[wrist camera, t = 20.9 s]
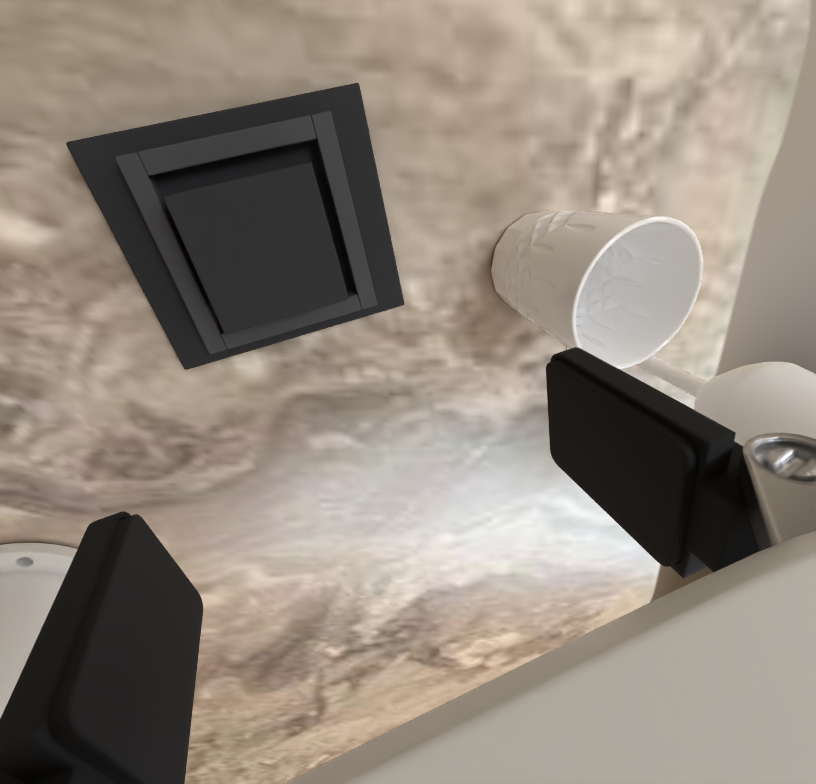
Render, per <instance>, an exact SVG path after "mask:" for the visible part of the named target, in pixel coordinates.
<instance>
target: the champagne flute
mask: <svg viewBox="0 0 816 784" xmlns="http://www.w3.org/2000/svg"><path fill="white" fill-rule="evenodd" d="M568 349H569V348H568V347H567V350H568ZM636 366H638V367H640V368H642V369H644V370H646V371H648V372H650V373H652V374H653V375H655V376H657V377H659V378H661V379H663V380H665V381H667V382H669V383H670V384H672V385H674V386H676V387H678V388H680V389H682V390H684V391H686V392H687V393H689V394H691V395H693V396H695V397H696V399H695V411H697V412H699V413H701V414H702V415H704V416H706V417H708V418H710V419H712V420H713V421H715V422H717V423H719V424H721V425H723V426H725V427H726V428H728V429H730V430H732V431H734V432H736V435H735V439H734V441H735V442H737V443H738V444H740V445H742V446H744V445H745V444H746V442H747V441H748V440H749V439H751V438H753V437H755V436H757V435H761V434H766V433H791V434H799V435H803V436H807V437H810V438H814V439H816V374H814V373H812V372H810V371H808V370H806V369H803V368H802V367H800V366H797V365H795V364H792V363H787V362H763V363H757V364H752V365H747V366H742V367H739V368H737V369H734V370H731V371H729V372H726V373H724V374H721V375H719V376H716V377H714V378H712V379H710V380H709V381H706V380H703V379H701V378H699V377H697V376H695V375H693V374H691V373H689V372H687V371H685V370H683V369H681V368H679V367H676V366H674V365H672V364H670V363H668V362H666V361H664V360H662V359H660V358H658V357H656V356H654V355H653V356H651V357H650V358H648V359H646V360H645V361H643V362H641V363H639V364H636Z"/></svg>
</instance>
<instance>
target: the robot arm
mask: <svg viewBox="0 0 816 784" xmlns="http://www.w3.org/2000/svg"><path fill="white" fill-rule="evenodd" d="M546 378H547V397H548V417H549V436H550V452H551V455H552V458H553V460H554V461H555V463H556V464H557V465H558V466H559V467H560V468H561V469H562V470H563V471H564V472H565V473H566V474H567V475H568V476H569V477H570V478H571V479H572V480H573V481H574V482H575V483H577V484H578V485H579V486H580V487H581V488H582V489H583V490H584V491H585V492H586V493H587V494H588V495H589V496H590V497H591V498H592V499H593V500H594V501H595V502H596V503H597V504H598V505H599V506H600V507H601V508H602V509H603V510H604V511H606V512H607V513H608V514H609V515H610V516H611V517H612V518H613V519H614V520H615V521H616V522H617V523H618V524H619V525H620V526H621V527H622V528H623V529H624V530H625V531H626V532H627V533H628V534H629V535H630V536H631V537H632V538H634V539H635V540H636V541H637V542H638V543H639V544H640V545H641V546H642V547H643V548H644V549H645V550H646V551H647V552H648V553H649V554H650V555H651V556H652V557H653V558H654V559H655V560H656V561H657V562H659V563H660V564H661V565H663V566H667V567H668V566H671V567H672V568H673V569H674V570H675V571H676V572H677V573H678V574H679V575H680V576H681V577H682V578H685V577H688V576H690V575H692V574H694V573H696V572H698V571H700V570H702V569H704V568H705V567H706V566H707V567H708V568H710V569H711V570H712V571H713V572H714V573H712V574H710V575H708V576H705V577H703V578H701V579H699V580H697V581H694V582H692V583H690V584H688V585H686V586H684V587H682V588H679V589H677V590H675V591H673V592H671V593H669V594H667V595H665V596H663V597H661V598H659V599H657V600H655V601H653V602H651V603H649V604H647V605H645V606H643V607H640V608H638V609H636V610H634V611H632V612H630V613H628V614H626V615H624V616H622V617H620V618H618V619H616V620H614V621H612V622H610V623H608V624H606V625H604V626H602V627H599V628H597V629H595V630H593V631H591V632H589V633H587V634H585V635H583V636H581V637H579V638H577V639H575V640H573V641H571V642H569V643H567V644H565V645H563V646H560V647H558V648H556V649H554V650H552V651H550V652H548V653H546V654H544V655H542V656H540V657H538V658H536V659H534V660H532V661H530V662H528V663H526V664H524V665H522V666H520V667H518V668H516V669H514V670H512V671H510V672H508V673H506V674H504V675H502V676H500V677H498V678H496V679H494V680H492V681H489V682H487V683H485V684H483V685H481V686H479V687H477V688H475V689H473V690H471V691H469V692H467V693H465V694H463V695H461V696H459V697H457V698H455V699H453V700H451V701H449V702H447V703H445V704H443V705H441V706H439V707H437V708H435V709H433V710H431V711H429V712H427V713H425V714H423V715H421V716H419V717H417V718H415V719H413V720H411V721H409V722H407V723H405V724H403V725H401V726H399V727H397V728H395V729H392V730H390V731H388V732H386V733H384V734H382V735H380V736H378V737H376V738H374V739H372V740H370V741H368V742H366V743H364V744H362V745H360V746H358V747H356V748H354V749H352V750H350V751H348V752H346V753H344V754H342V755H340V756H338V757H336V758H334V759H332V760H330V761H328V762H326V763H324V764H322V765H320V766H318V767H316V768H314V769H312V770H310V771H308V772H306V773H304V774H302V775H300V776H298V777H296V778H294V779H293V780H291V781H289V782H287V783H285V784H816V439H814V438H810V437H807V436H803V435H799V434H791V433H766V434H761V435H757V436H755V437H753V438H751V439H749V440H748V441H747V442H746V444H745V445H744V446H742V445H740V444H738V443H737V442H735V441H734V439H735V435H736V432H734V431H732V430H730V429H728V428H726V427H725V426H723V425H721V424H719V423H717V422H715V421H713V420H712V419H710V418H708V417H706V416H704V415H702V414H701V413H699V412H697V411H695V410H693V409H691V408H690V407H688V406H686V405H684V404H682V403H680V402H679V401H677V400H675V399H673V398H671V397H669V396H667V395H666V394H664V393H662V392H660V391H658V390H656V389H655V388H653V387H651V386H649V385H647V384H645V383H644V382H642V381H640V380H638V379H636V378H634V377H632V376H631V375H629V374H627V373H625V372H623V371H621V370H620V369H618V368H616V367H614V366H612V365H610V364H609V363H607V362H605V361H603V360H601V359H599V358H597V357H596V356H594V355H592V354H590V353H588V352H586V351H585V350H583V349H581V348H578V347H574V348H571V349H568V350H565V351H563V352H560V353H557V354H554V355H553V356H552V358H551V362H550V363H548V364H547V366H546ZM202 616H203V603H202V599H201V597H200V594H199V593H198V591H197V590H196V589H195V587H194V586H193V585H192V583H191V582H190V581H189V579H188V578H187V577H186V575H185V574H184V573H183V571H182V570H181V569H180V567H179V566H178V565H177V563H176V562H175V561H174V559H173V558H172V557H171V555H170V554H169V553H168V551H167V550H166V549H165V547H164V546H163V545H162V544H161V542H160V541H159V540H158V538H157V537H156V536H155V534H154V533H153V532H152V530H151V529H150V528H149V526H148V525H147V524H146V522H145V521H144V520H143V518H142V517H141V516H139V515H137V514H135V515H132V516H131V515H130V514H129V513H127V512H119V513H116V514H114V515H111V516H108V517H105V518H103V519H100V520H97V521H94V522H92V523H91V524H90V525H89V526H88V528H87V530H86V532H85V534H84V536H83V538H82V541H81V543H80V545H79V547H78V549H75V548H71V547H66V546H62V545H56V544H45V543H11V544H4V545H0V784H184V782H185V773H186V764H187V755H188V745H189V736H190V727H191V717H192V708H193V699H194V690H195V680H196V671H197V662H198V653H199V643H200V634H201V625H202Z"/></svg>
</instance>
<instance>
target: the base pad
mask: <svg viewBox="0 0 816 784" xmlns="http://www.w3.org/2000/svg"><path fill="white" fill-rule="evenodd" d="M66 144H67V147H68V148H69V150H70V152H71V154H72V156H73V158H74V160H75V162H76V164H77V166H78V167H79V169H80V171H81V173H82V175H83V177H84V179H85V181H86V183H87V185H88V186H89V188H90V190H91V192H92V194H93V196H94V198H95V200H96V202H97V204H98V205H99V207H100V209H101V211H102V213H103V215H104V217H105V219H106V221H107V223H108V224H109V226H110V228H111V230H112V232H113V234H114V236H115V238H116V240H117V242H118V244H119V245H120V247H121V249H122V251H123V253H124V255H125V257H126V259H127V261H128V263H129V264H130V266H131V268H132V270H133V272H134V274H135V276H136V278H137V280H138V282H139V283H140V285H141V287H142V289H143V291H144V293H145V295H146V297H147V299H148V301H149V302H150V304H151V306H152V308H153V310H154V312H155V314H156V316H157V318H158V320H159V321H160V323H161V325H162V327H163V329H164V331H165V333H166V335H167V337H168V339H169V340H170V342H171V344H172V346H173V348H174V350H175V352H176V354H177V356H178V358H179V360H180V361H181V363H182V365H183V367H184V369H185V370H187V369H190V368H194V367H197V366H201V365H204V364H207V363H211V362H214V361H217V360H221V359H224V358H227V357H231V356H234V355H237V354H241V353H244V352H247V351H251V350H254V349H258V348H261V347H264V346H268V345H271V344H274V343H278V342H281V341H284V340H288V339H291V338H294V337H298V336H301V335H304V334H308V333H311V332H315V331H318V330H321V329H325V328H328V327H331V326H335V325H338V324H341V323H345V322H348V321H351V320H355V319H358V318H362V317H365V316H368V315H372V314H375V313H378V312H382V311H385V310H388V309H392V308H395V307H398V306H402V305H404V300H403V295H402V290H401V285H400V281H399V276H398V271H397V266H396V261H395V256H394V251H393V247H392V242H391V237H390V232H389V227H388V222H387V217H386V213H385V208H384V203H383V198H382V193H381V188H380V183H379V179H378V174H377V169H376V164H375V159H374V154H373V150H372V145H371V140H370V135H369V130H368V125H367V120H366V116H365V111H364V106H363V101H362V96H361V91H360V86H359V84H358V83H355V84H350V85H345V86H340V87H335V88H330V89H325V90H320V91H316V92H311V93H306V94H301V95H296V96H291V97H286V98H281V99H276V100H271V101H267V102H262V103H257V104H252V105H247V106H242V107H237V108H232V109H227V110H222V111H217V112H213V113H208V114H203V115H198V116H193V117H188V118H183V119H178V120H173V121H168V122H164V123H159V124H154V125H149V126H144V127H139V128H134V129H129V130H124V131H119V132H114V133H110V134H105V135H100V136H95V137H90V138H85V139H80V140H75V141H70V142H67V143H66ZM298 163H312V166H313V170H314V174H315V177H316V181H317V185H318V188H319V192H320V196H321V199H322V203H323V206H324V210H325V214H326V217H327V221H328V225H329V228H330V232H331V236H332V239H333V243H334V247H335V250H336V254H337V257H338V261H339V265H340V268H341V272H342V276H343V279H344V283H345V287H346V290H347V294H348V297H349V299H348V300H344V301H341V302H338V303H334V304H331V305H327V306H324V307H320V308H317V309H313V310H310V311H307V312H303V313H300V314H296V315H293V316H289V317H286V318H282V319H279V320H276V321H272V322H269V323H265V324H262V325H258V326H255V327H251V328H248V329H244V330H241V331H238V332H234V333H231V334H227V335H225V334H224V332H223V330H222V327H221V325H220V323H219V321H218V319H217V316H216V314H215V312H214V310H213V307H212V305H211V303H210V301H209V299H208V296H207V294H206V292H205V290H204V288H203V285H202V283H201V281H200V279H199V276H198V274H197V272H196V270H195V268H194V265H193V263H192V261H191V259H190V256H189V254H188V252H187V250H186V248H185V245H184V243H183V241H182V239H181V236H180V234H179V232H178V230H177V228H176V225H175V223H174V221H173V219H172V216H171V214H170V212H169V210H168V208H167V205H166V203H165V201H164V199H163V197H164V196H167V195H169V194H172V193H175V192H177V191H181V190H186V189H190V188H194V187H199V186H203V185H207V184H212V183H216V182H220V181H225V180H229V179H233V178H238V177H242V176H246V175H251V174H255V173H259V172H264V171H268V170H272V169H277V168H281V167H285V166H290V165H294V164H298Z"/></svg>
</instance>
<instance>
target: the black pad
mask: <svg viewBox="0 0 816 784" xmlns="http://www.w3.org/2000/svg"><path fill="white" fill-rule="evenodd" d="M163 199H164V201H165V203H166V205H167V208H168V210H169V212H170V214H171V216H172V219H173V221H174V223H175V225H176V228H177V230H178V232H179V234H180V236H181V239H182V241H183V243H184V245H185V248H186V250H187V252H188V254H189V256H190V259H191V261H192V263H193V265H194V268H195V270H196V272H197V274H198V276H199V279H200V281H201V283H202V285H203V288H204V290H205V292H206V294H207V296H208V299H209V301H210V303H211V305H212V307H213V310H214V312H215V314H216V316H217V319H218V321H219V323H220V325H221V327H222V330H223V332H224V334H225V335H227V334H231V333H234V332H238V331H241V330H244V329H248V328H251V327H255V326H258V325H262V324H265V323H269V322H272V321H276V320H279V319H282V318H286V317H289V316H293V315H296V314H300V313H303V312H307V311H310V310H313V309H317V308H320V307H324V306H327V305H331V304H334V303H338V302H341V301H344V300H348V299H349V297H348V294H347V290H346V287H345V283H344V279H343V276H342V272H341V268H340V265H339V261H338V257H337V254H336V250H335V247H334V243H333V239H332V236H331V232H330V228H329V225H328V221H327V217H326V214H325V210H324V206H323V203H322V199H321V196H320V192H319V188H318V185H317V181H316V177H315V174H314V170H313V166H312V163H298V164H294V165H290V166H285V167H281V168H277V169H272V170H268V171H264V172H259V173H255V174H251V175H246V176H242V177H238V178H233V179H229V180H225V181H220V182H216V183H212V184H207V185H203V186H199V187H194V188H190V189H186V190H181V191H177V192H175V193H172V194H169V195H167V196H164V197H163Z"/></svg>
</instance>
